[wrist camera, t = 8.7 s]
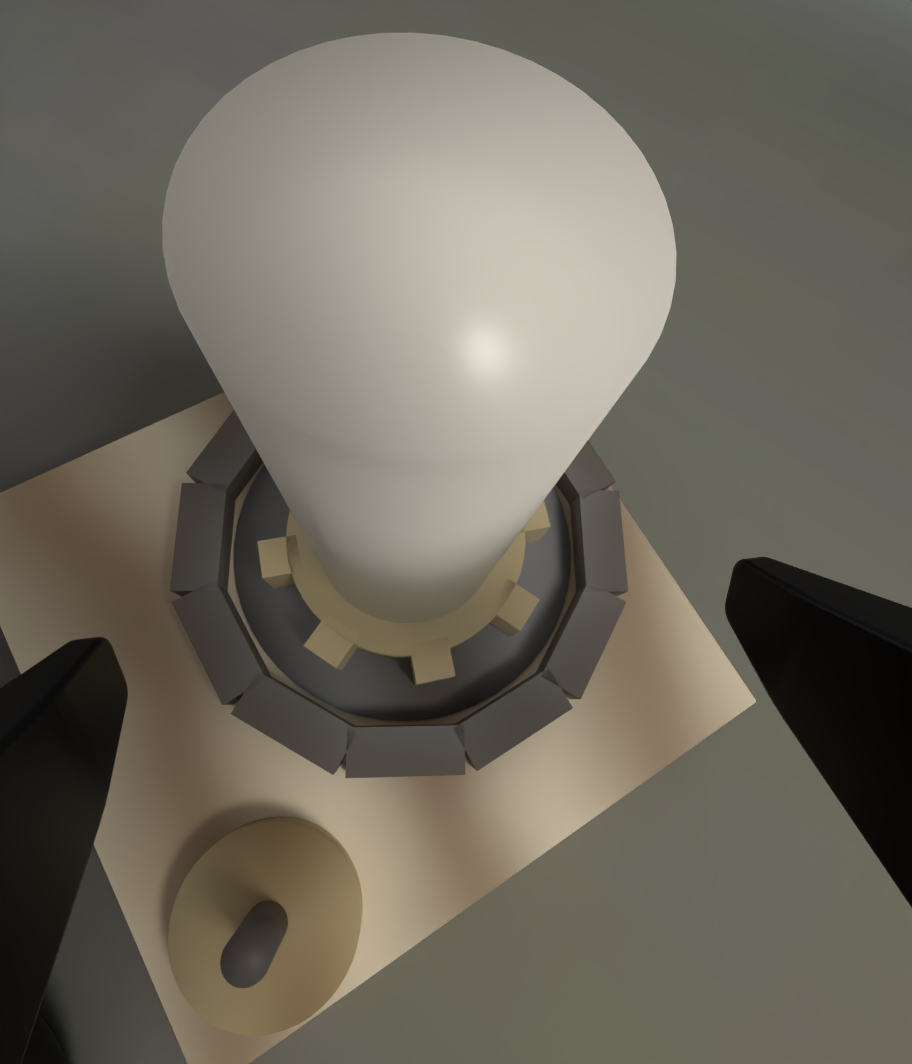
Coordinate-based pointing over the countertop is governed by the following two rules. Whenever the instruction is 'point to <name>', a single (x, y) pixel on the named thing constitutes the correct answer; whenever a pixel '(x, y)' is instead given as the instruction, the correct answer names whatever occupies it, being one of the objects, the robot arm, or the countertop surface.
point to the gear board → (333, 722)
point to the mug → (43, 1046)
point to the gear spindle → (415, 317)
